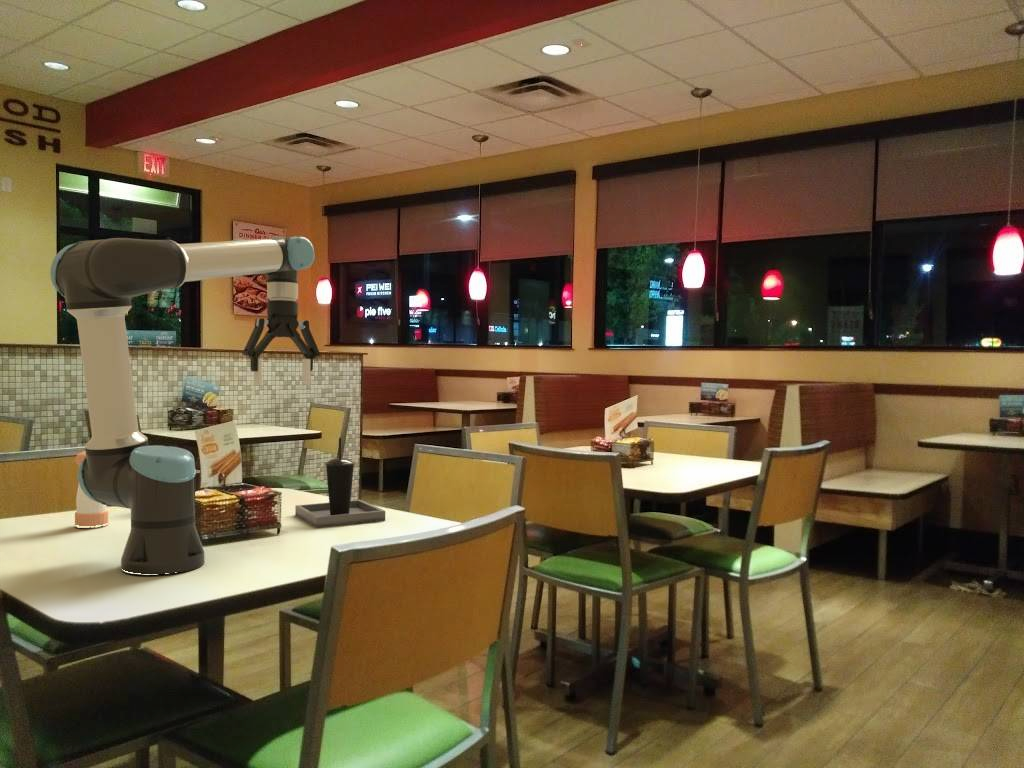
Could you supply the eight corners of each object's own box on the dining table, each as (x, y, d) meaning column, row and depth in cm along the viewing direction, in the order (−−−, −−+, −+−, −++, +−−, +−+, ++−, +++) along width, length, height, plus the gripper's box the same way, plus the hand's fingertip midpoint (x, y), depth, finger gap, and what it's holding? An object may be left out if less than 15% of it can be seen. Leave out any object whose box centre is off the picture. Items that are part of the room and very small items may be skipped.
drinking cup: (351, 517, 201) (351, 439, 200) (321, 517, 201) (321, 439, 200) (357, 511, 208) (358, 436, 208) (328, 511, 208) (329, 436, 208)
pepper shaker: (68, 526, 190) (68, 448, 190) (98, 521, 197) (98, 445, 196) (84, 530, 186) (84, 450, 186) (114, 525, 193) (114, 447, 192)
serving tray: (316, 527, 192) (316, 517, 192) (295, 514, 207) (295, 505, 207) (385, 520, 201) (385, 510, 201) (360, 508, 217) (360, 499, 217)
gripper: (317, 303, 209) (317, 383, 210) (228, 297, 191) (228, 384, 192) (333, 302, 204) (333, 384, 205) (243, 296, 186) (243, 385, 187)
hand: (282, 384), depth 199 cm, fingers open, 13 cm apart
